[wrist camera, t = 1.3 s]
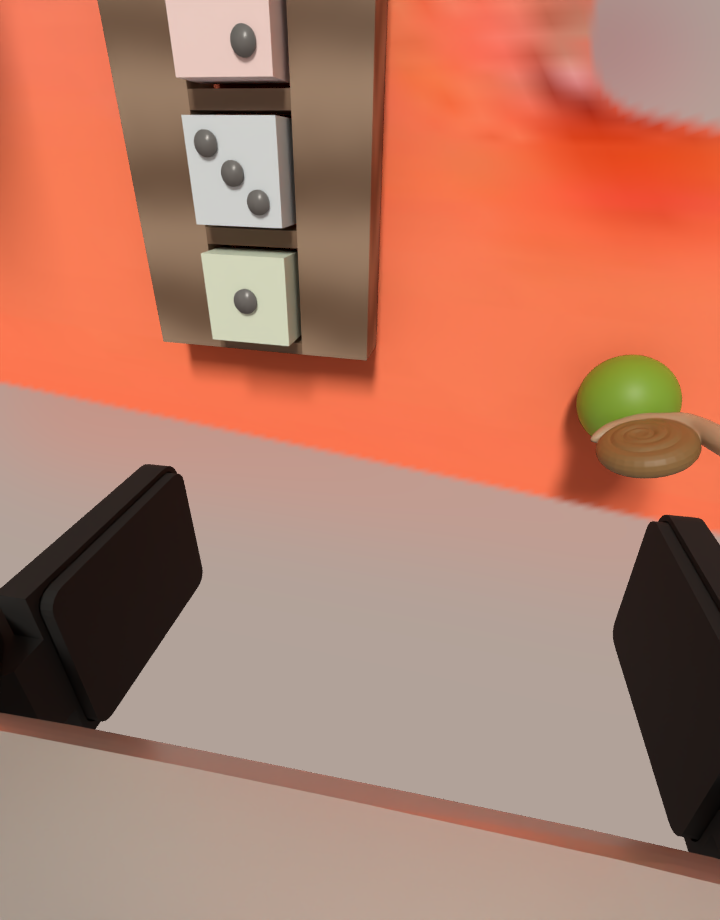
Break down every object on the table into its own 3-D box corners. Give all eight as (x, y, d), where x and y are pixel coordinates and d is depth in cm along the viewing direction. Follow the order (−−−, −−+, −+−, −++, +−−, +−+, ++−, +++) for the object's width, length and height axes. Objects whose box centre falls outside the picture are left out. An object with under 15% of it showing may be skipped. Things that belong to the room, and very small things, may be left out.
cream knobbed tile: (220, 246, 30) (199, 253, 28) (298, 251, 30) (282, 258, 27) (230, 327, 33) (211, 340, 31) (302, 334, 32) (287, 347, 30)
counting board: (122, -56, 26) (82, -80, 23) (390, -74, 23) (377, -102, 21) (186, 328, 36) (163, 341, 34) (375, 345, 34) (366, 360, 31)
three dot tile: (205, 118, 27) (179, 114, 25) (292, 118, 26) (273, 114, 24) (217, 219, 30) (194, 224, 27) (297, 223, 29) (280, 228, 27)
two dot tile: (185, -48, 24) (153, -69, 21) (284, -53, 23) (262, -77, 21) (201, 83, 26) (173, 76, 24) (290, 83, 25) (271, 75, 23)
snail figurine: (686, 410, 31) (778, 529, 21) (576, 430, 34) (613, 546, 23) (682, 327, 29) (783, 417, 19) (565, 355, 31) (600, 447, 21)
